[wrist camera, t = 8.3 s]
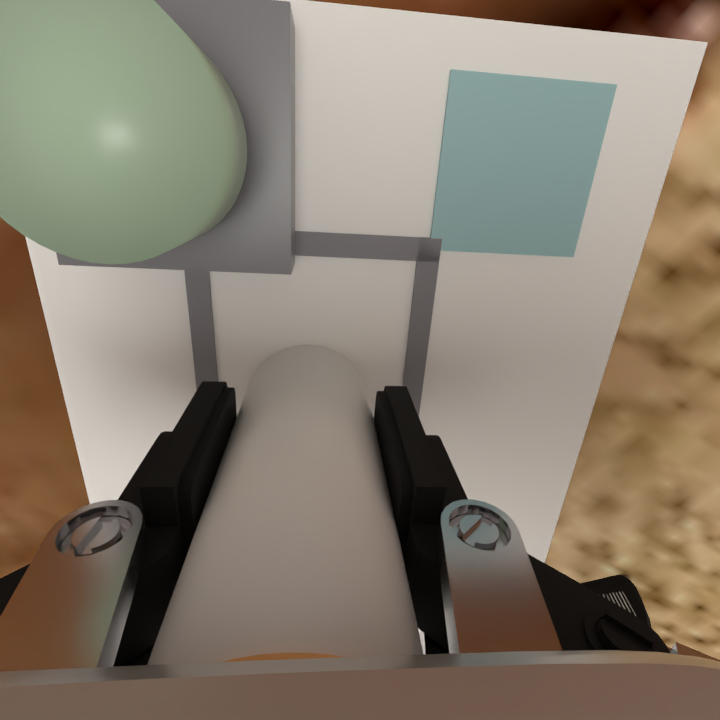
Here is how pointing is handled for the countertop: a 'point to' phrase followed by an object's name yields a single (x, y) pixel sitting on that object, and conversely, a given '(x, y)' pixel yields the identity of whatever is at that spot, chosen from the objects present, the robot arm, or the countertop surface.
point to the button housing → (263, 135)
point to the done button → (112, 130)
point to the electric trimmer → (620, 594)
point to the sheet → (413, 248)
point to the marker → (295, 530)
